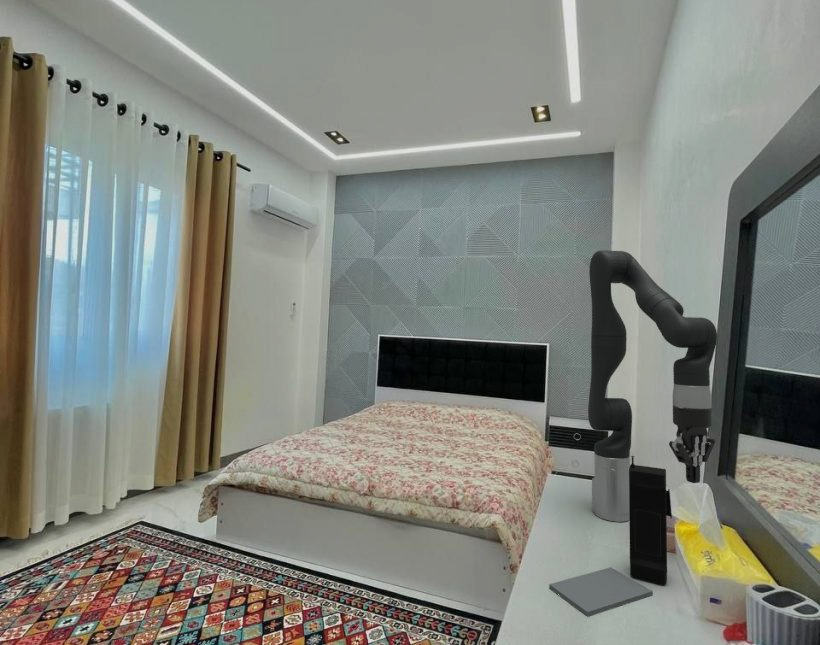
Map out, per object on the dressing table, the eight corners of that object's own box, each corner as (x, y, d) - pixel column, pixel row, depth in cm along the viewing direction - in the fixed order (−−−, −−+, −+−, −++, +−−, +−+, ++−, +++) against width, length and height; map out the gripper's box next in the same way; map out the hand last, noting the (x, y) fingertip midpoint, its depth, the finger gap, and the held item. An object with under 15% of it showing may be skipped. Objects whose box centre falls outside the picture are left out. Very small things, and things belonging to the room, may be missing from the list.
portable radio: (672, 575, 96) (671, 456, 96) (672, 588, 90) (671, 463, 91) (631, 565, 100) (630, 451, 100) (629, 577, 94) (628, 458, 95)
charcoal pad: (549, 588, 90) (549, 584, 90) (611, 570, 97) (611, 567, 97) (587, 616, 81) (587, 612, 81) (652, 595, 88) (652, 591, 88)
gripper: (694, 401, 108) (695, 474, 107) (656, 404, 103) (657, 480, 102) (727, 405, 101) (728, 483, 101) (688, 408, 96) (689, 490, 95)
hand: (693, 481), depth 101 cm, fingers closed
